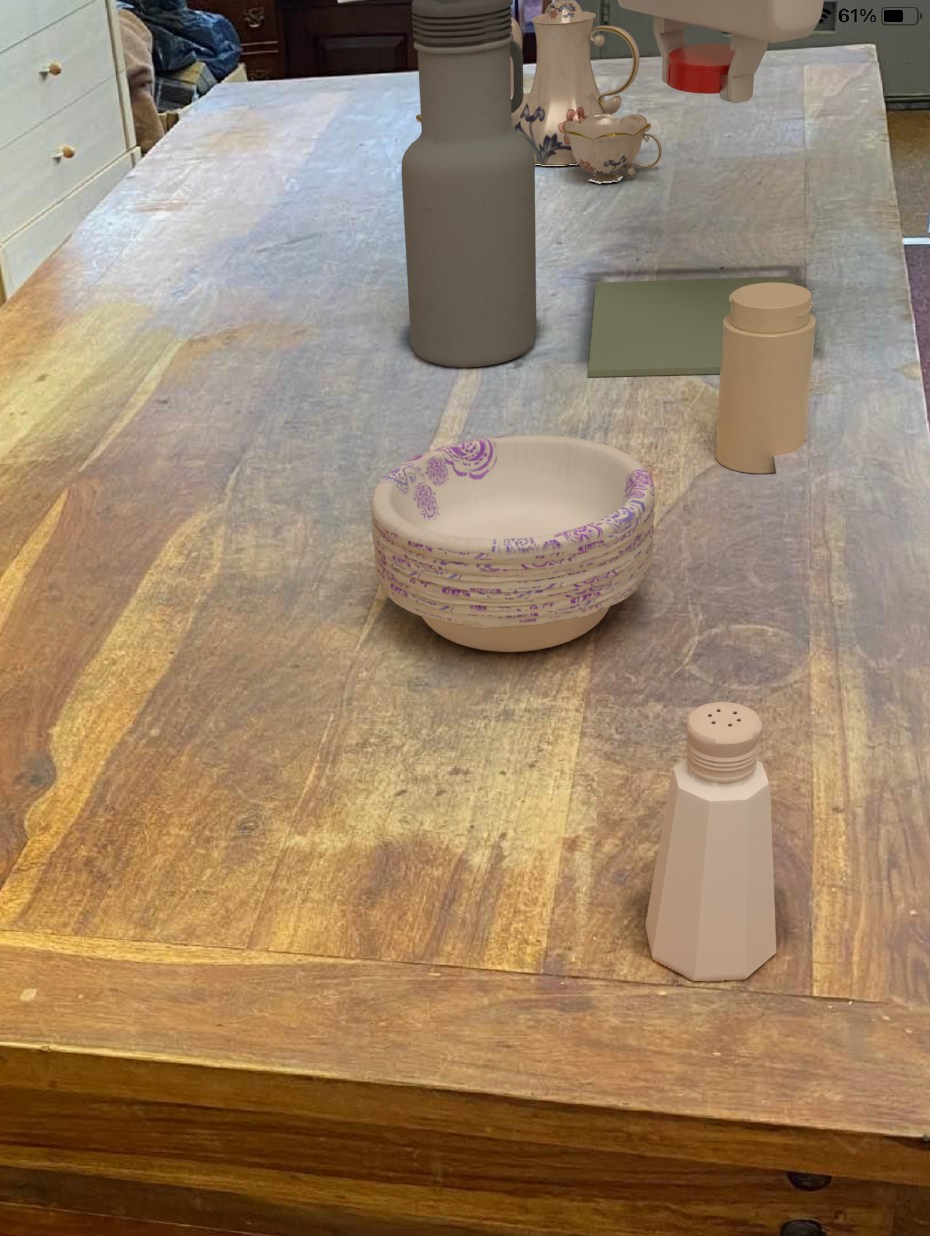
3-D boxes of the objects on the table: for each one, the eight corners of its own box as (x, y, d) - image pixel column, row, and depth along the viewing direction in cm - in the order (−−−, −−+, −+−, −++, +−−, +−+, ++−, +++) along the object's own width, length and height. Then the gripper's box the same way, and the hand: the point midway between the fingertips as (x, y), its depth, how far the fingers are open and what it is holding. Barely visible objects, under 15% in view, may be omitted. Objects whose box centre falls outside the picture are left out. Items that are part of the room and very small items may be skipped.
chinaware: (396, 190, 171) (377, 23, 161) (468, 134, 182) (455, -26, 171) (644, 209, 158) (642, 28, 148) (707, 147, 168) (709, -26, 158)
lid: (696, 98, 113) (699, 70, 112) (650, 79, 117) (652, 51, 116) (769, 85, 115) (772, 57, 113) (721, 66, 119) (723, 39, 118)
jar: (800, 438, 107) (813, 278, 101) (807, 473, 103) (822, 308, 97) (713, 440, 108) (722, 281, 102) (717, 474, 104) (726, 311, 98)
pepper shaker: (627, 969, 66) (634, 744, 60) (661, 890, 70) (670, 671, 64) (762, 998, 64) (783, 768, 58) (789, 915, 68) (811, 691, 62)
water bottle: (433, 322, 132) (414, -62, 116) (550, 326, 129) (548, -69, 113) (395, 367, 124) (370, -38, 108) (519, 373, 121) (512, -44, 105)
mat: (793, 282, 132) (793, 275, 132) (812, 372, 117) (813, 364, 116) (595, 289, 135) (595, 282, 135) (587, 377, 119) (587, 369, 119)
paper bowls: (453, 536, 100) (448, 413, 95) (690, 577, 93) (696, 447, 88) (329, 651, 89) (316, 520, 85) (586, 707, 83) (587, 567, 78)
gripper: (594, -132, 115) (592, 76, 123) (768, -112, 100) (753, 124, 108) (670, -143, 117) (663, 63, 125) (852, -126, 101) (831, 108, 109)
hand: (706, 92), depth 116 cm, fingers closed on lid, 6 cm apart
